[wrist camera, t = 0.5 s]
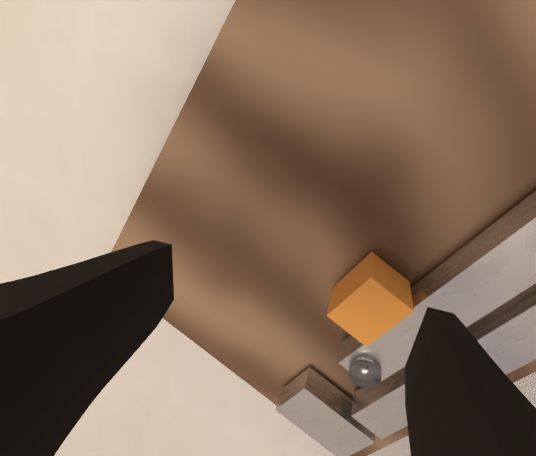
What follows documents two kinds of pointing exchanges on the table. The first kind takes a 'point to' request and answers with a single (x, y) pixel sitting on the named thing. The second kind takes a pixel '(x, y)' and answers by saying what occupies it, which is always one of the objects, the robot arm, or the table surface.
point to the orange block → (370, 300)
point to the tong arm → (455, 292)
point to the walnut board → (335, 167)
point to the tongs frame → (399, 384)
